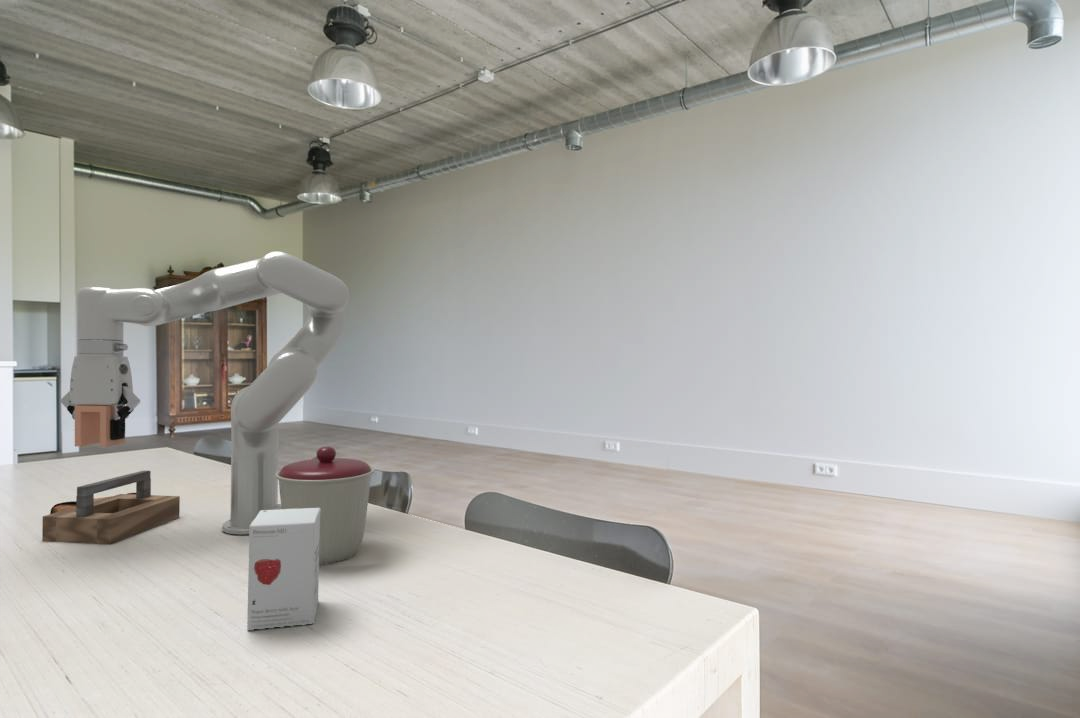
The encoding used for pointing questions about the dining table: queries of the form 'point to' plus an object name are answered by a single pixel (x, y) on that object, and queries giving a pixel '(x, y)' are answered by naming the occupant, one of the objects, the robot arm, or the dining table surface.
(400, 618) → the dining table surface
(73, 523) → the wooden rectangular frame
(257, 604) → the supplement box
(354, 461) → the canister
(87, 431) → the pink u-channel block
